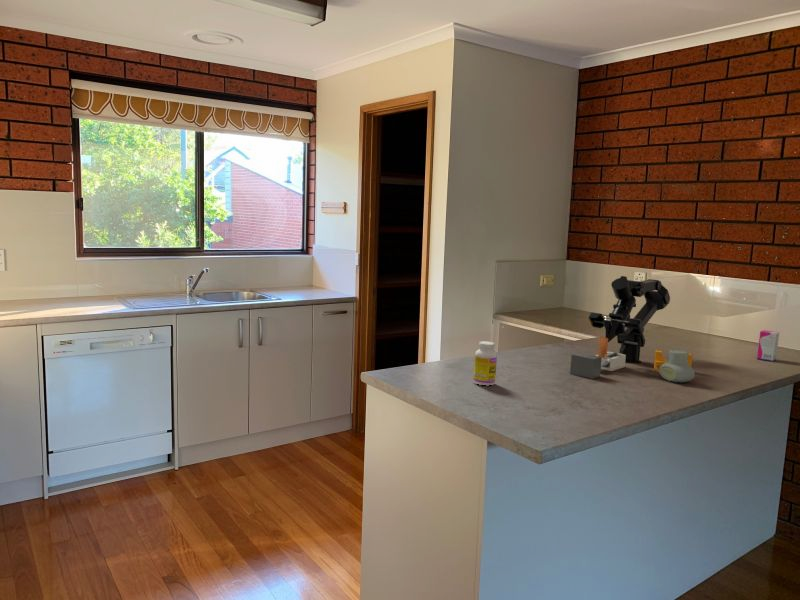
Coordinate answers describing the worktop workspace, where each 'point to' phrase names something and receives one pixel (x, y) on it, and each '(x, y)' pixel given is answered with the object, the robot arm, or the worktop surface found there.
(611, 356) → the tube
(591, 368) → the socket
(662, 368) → the air freshener
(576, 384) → the worktop surface
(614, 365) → the open tray
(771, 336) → the supplement box
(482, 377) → the supplement bottle
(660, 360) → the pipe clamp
